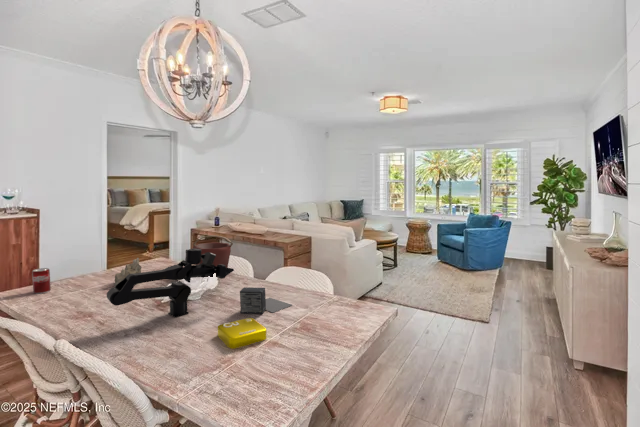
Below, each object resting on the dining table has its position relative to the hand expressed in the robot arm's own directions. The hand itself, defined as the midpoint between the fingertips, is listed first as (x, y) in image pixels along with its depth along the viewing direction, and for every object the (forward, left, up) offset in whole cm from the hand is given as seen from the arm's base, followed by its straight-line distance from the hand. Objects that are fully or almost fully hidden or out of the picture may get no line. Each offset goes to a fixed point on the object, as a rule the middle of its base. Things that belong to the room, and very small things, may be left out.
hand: (228, 268), depth 175 cm
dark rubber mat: (+10, -20, -16) cm, 28 cm away
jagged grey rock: (-19, +69, -17) cm, 73 cm away
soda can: (-56, +85, -16) cm, 103 cm away
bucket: (+23, +48, -16) cm, 55 cm away
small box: (-1, -20, -16) cm, 26 cm away
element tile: (-21, -37, -17) cm, 46 cm away
